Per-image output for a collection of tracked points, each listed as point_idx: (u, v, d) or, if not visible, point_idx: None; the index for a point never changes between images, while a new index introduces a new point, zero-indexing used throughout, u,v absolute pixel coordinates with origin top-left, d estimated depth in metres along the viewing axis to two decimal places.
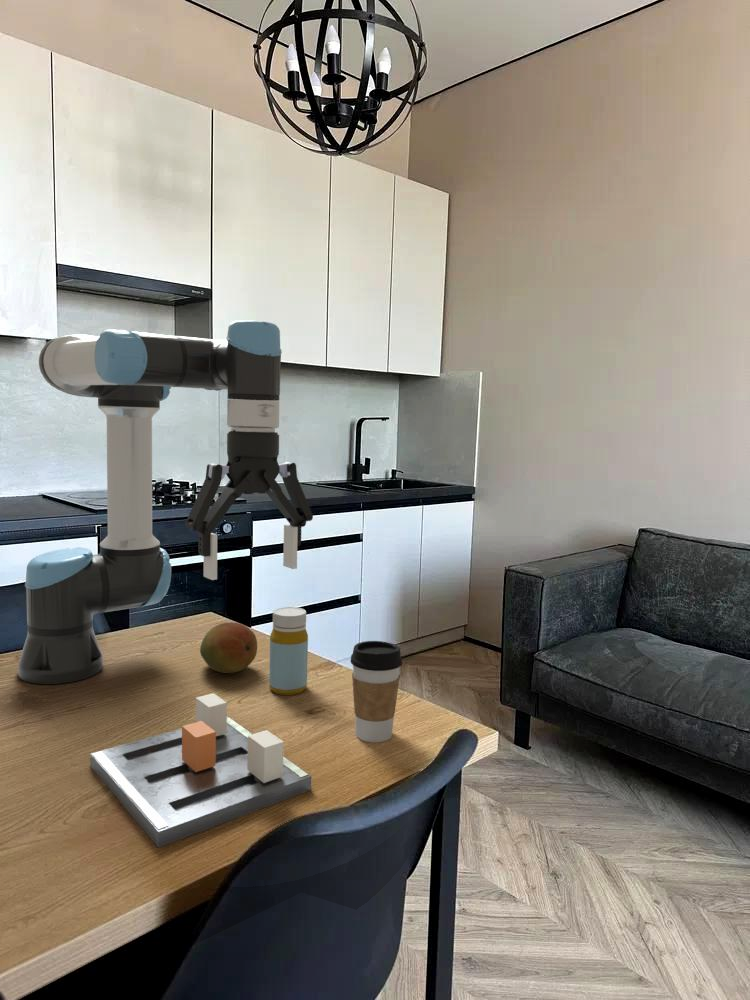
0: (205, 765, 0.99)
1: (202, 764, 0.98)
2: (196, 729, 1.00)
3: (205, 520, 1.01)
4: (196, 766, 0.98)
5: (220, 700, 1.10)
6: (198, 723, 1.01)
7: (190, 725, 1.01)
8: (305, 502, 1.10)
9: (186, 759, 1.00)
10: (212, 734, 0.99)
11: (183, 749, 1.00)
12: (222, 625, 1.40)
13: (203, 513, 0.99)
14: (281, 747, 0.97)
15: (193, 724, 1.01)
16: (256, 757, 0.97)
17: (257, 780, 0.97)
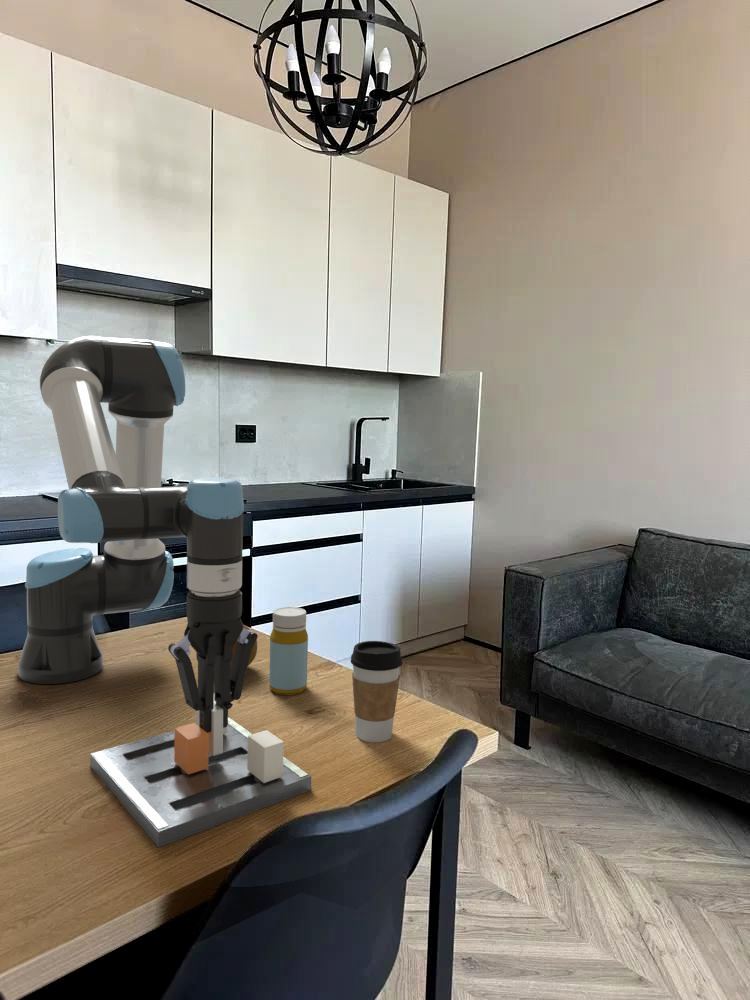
0: (198, 767, 0.98)
1: (195, 766, 0.98)
2: (188, 731, 0.99)
3: (201, 698, 1.00)
4: (188, 768, 0.97)
5: None
6: (191, 725, 1.01)
7: (182, 727, 1.00)
8: (243, 678, 1.02)
9: (178, 761, 0.99)
10: (205, 736, 0.98)
11: (176, 751, 1.00)
12: None
13: (195, 693, 0.97)
14: (281, 747, 0.97)
15: (186, 726, 1.00)
16: (256, 757, 0.97)
17: (257, 780, 0.97)
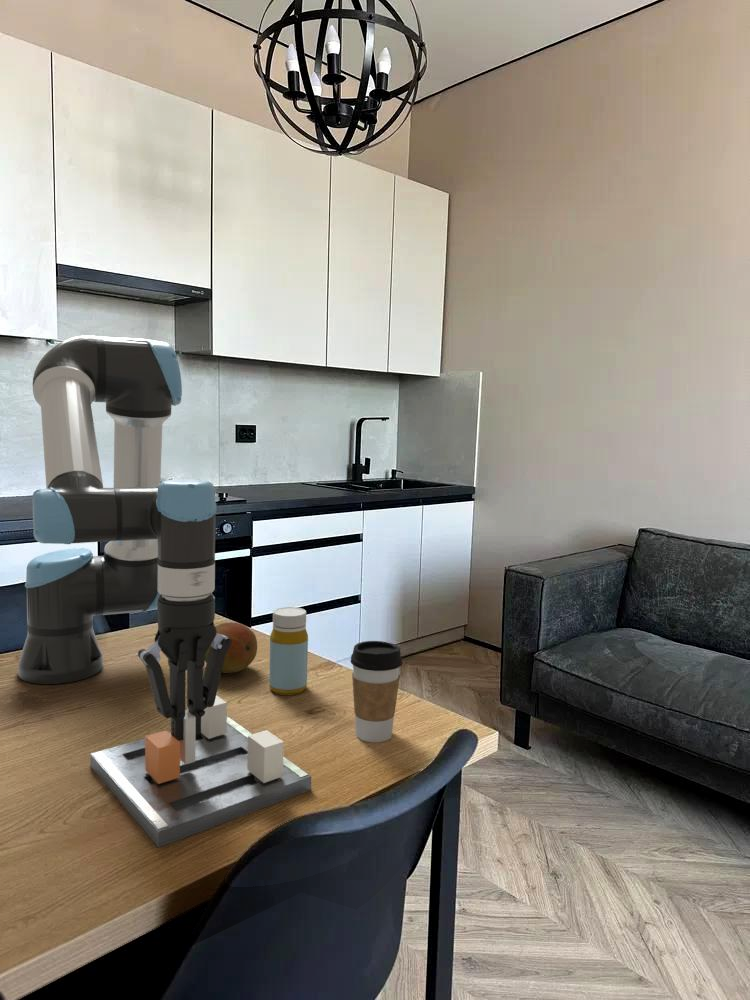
0: (168, 777, 0.95)
1: (165, 776, 0.95)
2: (159, 739, 0.96)
3: (172, 705, 0.97)
4: (159, 778, 0.94)
5: (220, 700, 1.10)
6: (162, 733, 0.98)
7: (154, 734, 0.97)
8: (216, 685, 0.99)
9: (149, 770, 0.96)
10: (176, 744, 0.95)
11: (146, 760, 0.97)
12: (222, 625, 1.40)
13: (166, 700, 0.95)
14: (281, 747, 0.97)
15: (157, 734, 0.98)
16: (256, 757, 0.97)
17: (257, 780, 0.97)
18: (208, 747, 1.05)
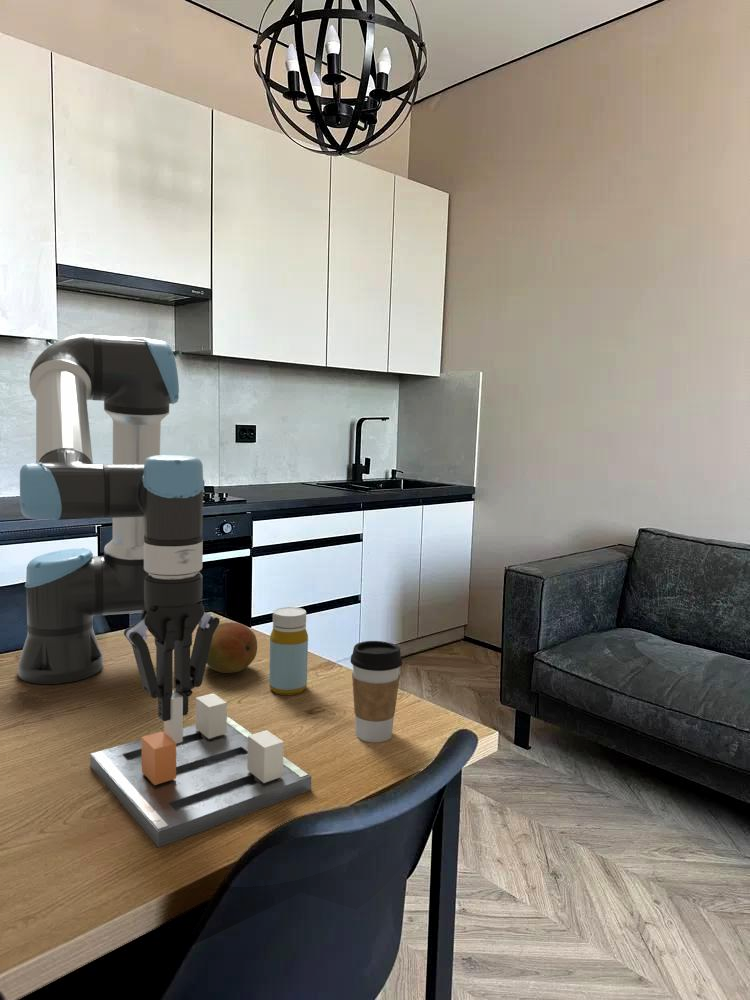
0: (165, 778, 0.95)
1: (162, 777, 0.94)
2: (156, 740, 0.96)
3: (159, 685, 0.96)
4: (155, 779, 0.94)
5: (220, 700, 1.10)
6: (159, 734, 0.98)
7: (150, 736, 0.97)
8: (204, 665, 0.98)
9: (145, 771, 0.96)
10: (172, 746, 0.95)
11: (143, 761, 0.97)
12: (222, 625, 1.40)
13: (152, 679, 0.93)
14: (281, 747, 0.97)
15: (153, 735, 0.97)
16: (256, 757, 0.97)
17: (257, 780, 0.97)
18: (208, 747, 1.05)
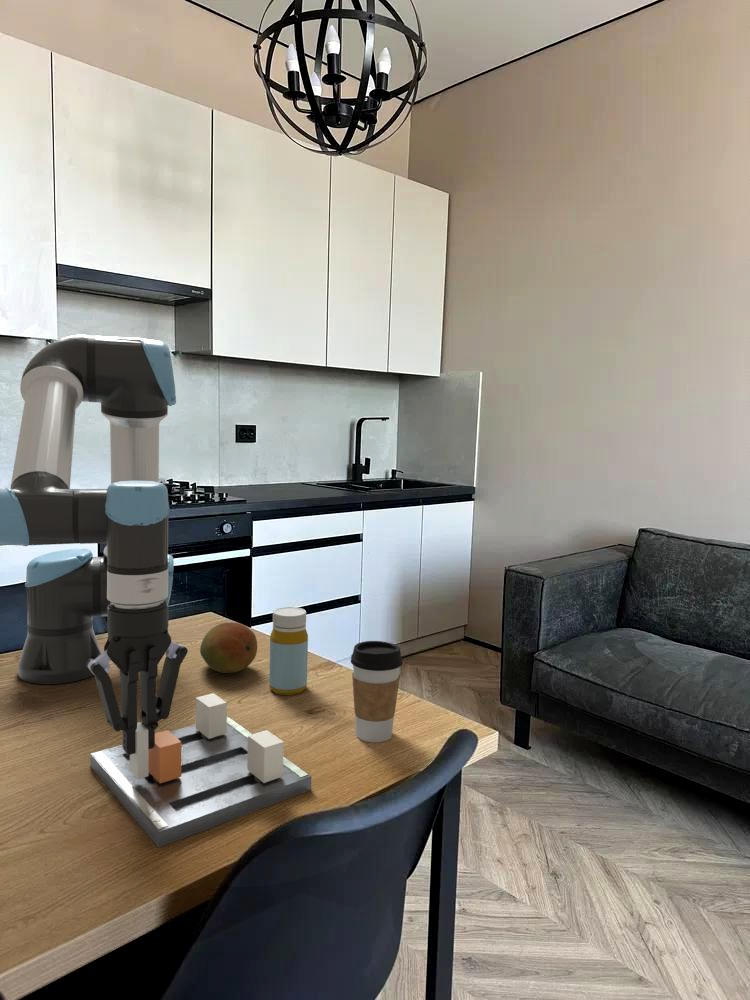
0: (170, 776, 0.95)
1: (167, 775, 0.95)
2: (161, 739, 0.96)
3: (124, 717, 0.93)
4: (160, 777, 0.94)
5: (220, 700, 1.10)
6: (164, 732, 0.98)
7: (155, 734, 0.98)
8: (171, 696, 0.95)
9: (151, 770, 0.97)
10: (177, 744, 0.95)
11: (148, 759, 0.97)
12: (222, 625, 1.40)
13: (115, 712, 0.90)
14: (281, 747, 0.97)
15: (158, 733, 0.98)
16: (256, 757, 0.97)
17: (257, 780, 0.97)
18: (208, 747, 1.05)
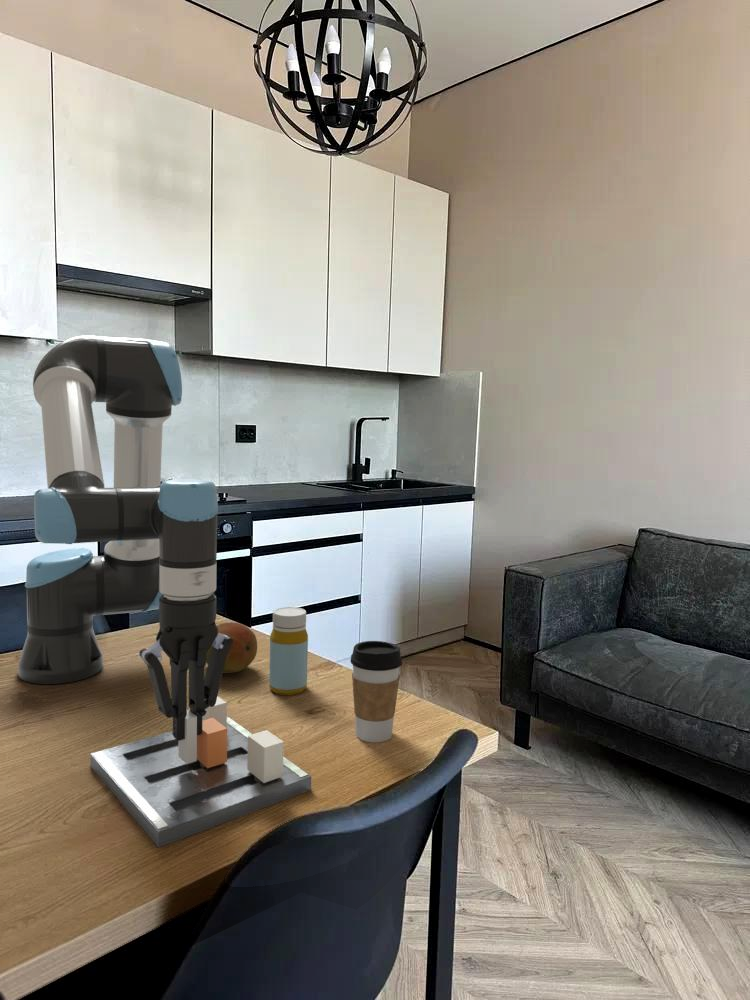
0: (217, 761, 1.00)
1: (214, 760, 0.99)
2: (207, 726, 1.01)
3: (174, 704, 0.97)
4: (208, 762, 0.99)
5: (220, 700, 1.10)
6: (209, 720, 1.03)
7: None
8: (218, 685, 0.99)
9: (197, 755, 1.01)
10: (223, 731, 1.00)
11: None
12: (222, 625, 1.40)
13: (167, 699, 0.95)
14: (281, 747, 0.97)
15: (204, 721, 1.02)
16: (256, 757, 0.97)
17: (257, 780, 0.97)
18: None
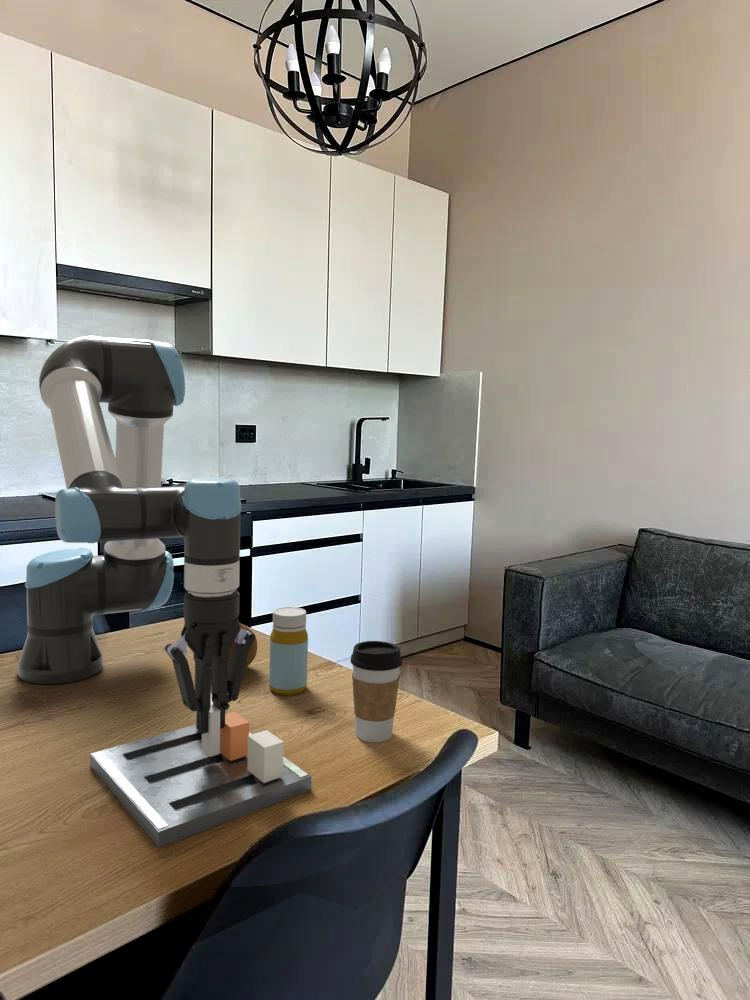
0: (239, 754, 1.02)
1: (236, 753, 1.02)
2: (230, 719, 1.03)
3: (198, 698, 0.99)
4: (231, 755, 1.01)
5: None
6: (231, 714, 1.05)
7: None
8: (240, 679, 1.02)
9: (220, 748, 1.03)
10: (246, 724, 1.02)
11: None
12: None
13: (192, 693, 0.97)
14: (281, 747, 0.97)
15: (227, 715, 1.04)
16: (256, 757, 0.97)
17: (257, 780, 0.97)
18: None
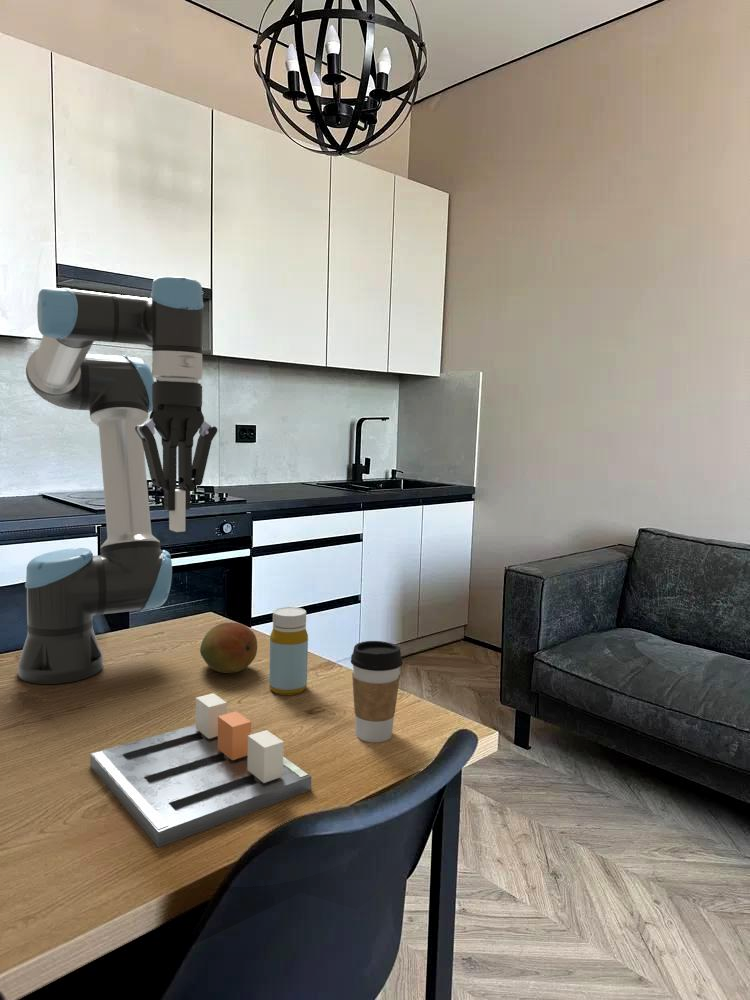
0: (241, 754, 1.02)
1: (238, 753, 1.02)
2: (232, 719, 1.03)
3: (165, 479, 1.11)
4: (232, 754, 1.01)
5: (220, 700, 1.10)
6: (233, 713, 1.05)
7: (225, 715, 1.04)
8: (204, 466, 1.14)
9: (222, 748, 1.03)
10: (248, 724, 1.02)
11: (219, 738, 1.04)
12: (222, 625, 1.40)
13: (159, 470, 1.09)
14: (281, 747, 0.97)
15: (228, 714, 1.05)
16: (256, 757, 0.97)
17: (257, 780, 0.97)
18: (208, 747, 1.05)
